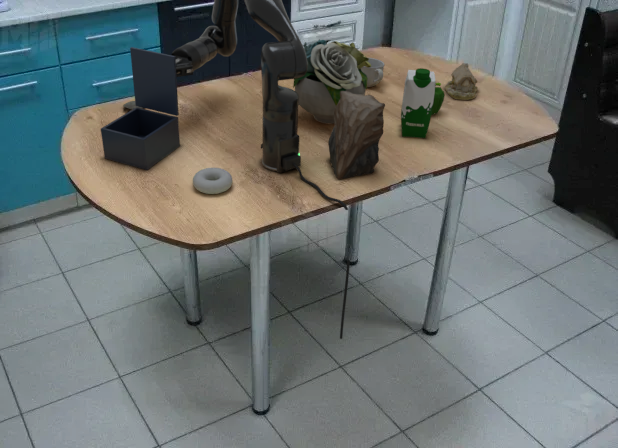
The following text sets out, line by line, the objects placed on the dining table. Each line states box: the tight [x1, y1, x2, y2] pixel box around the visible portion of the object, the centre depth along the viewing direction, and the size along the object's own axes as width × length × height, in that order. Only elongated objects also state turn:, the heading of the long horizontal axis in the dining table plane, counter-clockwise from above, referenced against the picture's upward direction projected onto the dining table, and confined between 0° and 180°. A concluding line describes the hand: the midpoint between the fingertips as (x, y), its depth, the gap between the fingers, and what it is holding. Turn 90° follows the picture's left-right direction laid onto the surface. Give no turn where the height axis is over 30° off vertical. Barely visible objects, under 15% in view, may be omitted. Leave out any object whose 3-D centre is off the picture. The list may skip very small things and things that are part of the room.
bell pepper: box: [431, 82, 446, 116], centre depth 210 cm, size 8×8×10 cm
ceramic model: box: [444, 62, 478, 101], centre depth 225 cm, size 14×11×10 cm
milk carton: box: [400, 67, 437, 139], centre depth 195 cm, size 9×9×20 cm
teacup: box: [361, 56, 385, 88], centre depth 227 cm, size 14×11×8 cm
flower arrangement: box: [292, 39, 371, 125], centre depth 199 cm, size 25×25×24 cm
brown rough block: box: [327, 91, 386, 181], centre depth 176 cm, size 13×13×20 cm
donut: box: [192, 167, 233, 195], centre depth 169 cm, size 10×4×10 cm
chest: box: [100, 107, 181, 171], centre depth 181 cm, size 16×14×9 cm
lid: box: [129, 46, 180, 117], centre depth 180 cm, size 16×14×1 cm
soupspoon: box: [122, 100, 143, 110], centre depth 200 cm, size 22×3×7 cm
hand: (155, 76), depth 179 cm, fingers closed
